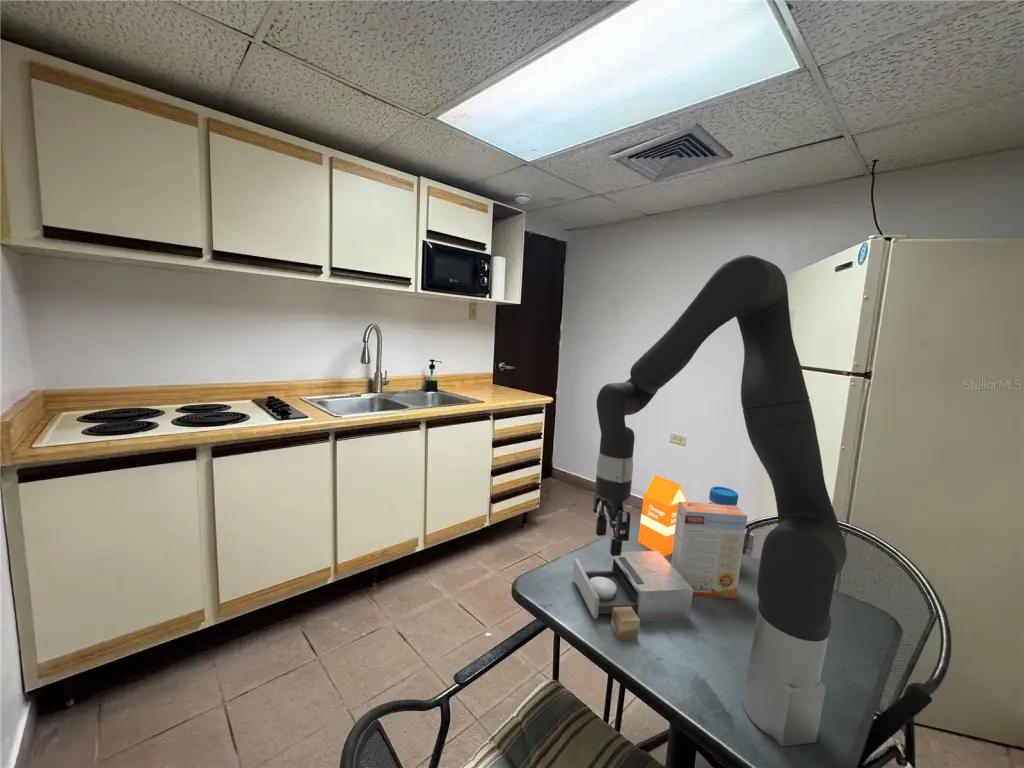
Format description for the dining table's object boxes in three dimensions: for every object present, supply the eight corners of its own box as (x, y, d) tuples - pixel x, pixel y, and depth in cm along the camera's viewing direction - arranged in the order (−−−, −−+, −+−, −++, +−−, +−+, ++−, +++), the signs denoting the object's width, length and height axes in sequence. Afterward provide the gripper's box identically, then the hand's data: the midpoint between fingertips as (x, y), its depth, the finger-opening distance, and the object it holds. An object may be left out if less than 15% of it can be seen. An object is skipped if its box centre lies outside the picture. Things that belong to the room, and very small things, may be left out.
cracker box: (724, 584, 102) (736, 504, 99) (736, 600, 96) (749, 515, 93) (667, 579, 102) (677, 499, 100) (675, 595, 96) (686, 510, 94)
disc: (594, 600, 89) (594, 593, 89) (584, 583, 95) (585, 577, 95) (620, 599, 90) (620, 592, 90) (609, 582, 96) (610, 576, 96)
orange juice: (663, 556, 113) (672, 487, 110) (637, 541, 120) (645, 476, 117) (680, 549, 117) (689, 482, 114) (655, 535, 124) (662, 472, 122)
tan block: (637, 638, 82) (639, 620, 81) (618, 639, 81) (620, 621, 80) (629, 624, 86) (631, 606, 85) (610, 625, 85) (612, 607, 84)
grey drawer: (646, 615, 87) (648, 596, 86) (593, 618, 85) (595, 598, 84) (618, 574, 101) (619, 557, 100) (572, 575, 99) (574, 558, 99)
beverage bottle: (729, 556, 115) (739, 488, 113) (734, 572, 107) (745, 499, 105) (696, 549, 118) (705, 482, 115) (698, 564, 110) (708, 493, 107)
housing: (689, 619, 88) (693, 588, 87) (637, 621, 86) (640, 590, 85) (654, 577, 103) (658, 550, 102) (609, 578, 101) (612, 551, 100)
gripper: (586, 463, 95) (581, 529, 97) (610, 486, 81) (603, 563, 83) (617, 463, 97) (611, 528, 99) (645, 486, 83) (638, 562, 85)
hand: (607, 544), depth 91 cm, fingers open, 8 cm apart
